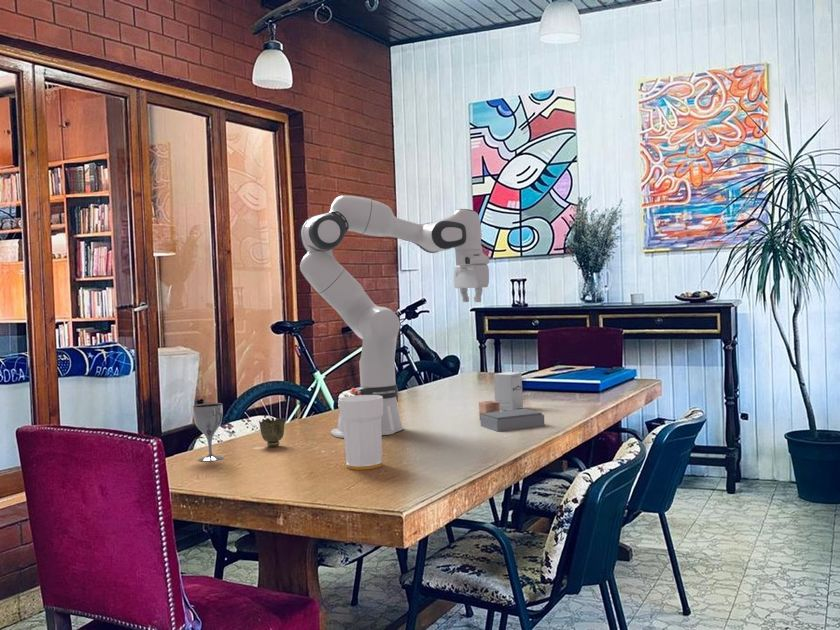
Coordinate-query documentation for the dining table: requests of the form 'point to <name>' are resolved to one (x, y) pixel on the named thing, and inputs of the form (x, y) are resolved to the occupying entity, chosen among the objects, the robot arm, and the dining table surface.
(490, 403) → the terracotta block
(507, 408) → the supplement box
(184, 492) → the dining table surface
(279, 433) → the cup
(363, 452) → the cup
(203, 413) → the wine glass
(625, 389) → the dining table surface
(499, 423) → the plinth
